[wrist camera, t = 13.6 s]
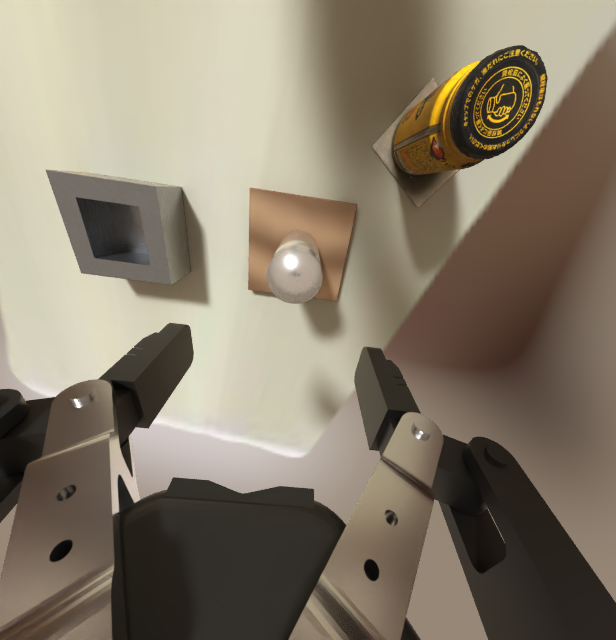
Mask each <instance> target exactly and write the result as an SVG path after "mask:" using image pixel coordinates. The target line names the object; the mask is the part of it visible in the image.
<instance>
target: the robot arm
mask: <svg viewBox="0 0 616 640" xmlns="http://www.w3.org/2000/svg"><path fill="white" fill-rule="evenodd" d="M193 354H194V353H193V345H192V337H191V330H190V327H189V325H183V324H175V323H169V324H167V325H166V326H165V327H164V328H163V329H162V330H161V331H160V332H159V333H153V334H151V335H149V336H147V337H145V338H143V339H142V340H141V341H140V342H139V343H138V344H137V345H135V346H134V348H132V349H131V350H130V351H129V352H128V353H127V355H124V356H123V357H122V358H121V359H120V360H119V361H118V362H117V363H116V364H114V365H113V366H112V367H111V368H110V369H109V370H108V371H107V372H106V373H105V374H103V375H102V376H101V377H100V378H99V379H98V380H88V381H84V382H80V383H77V384H75V385H73V386H70V387H68V388H67V389H65V390H64V391H62V392H61V393H59V394H58V395H57V396H56V397H52V398H45V399H37V400H29V401H25V399H24V398H23V396H22V395H21V393H20V392H19V391H17V390H13V389H1V390H0V522H1V521H2V520H3V519H4V518H5V517H6V515H7V514H8V513H9V512H10V511H11V510H12V509H13V507H14V506H15V505H16V504H17V507H16V512H15V516H14V521H13V525H12V529H11V534H10V538H9V542H8V547H7V551H6V556H5V560H4V564H3V569H2V573H1V577H0V640H421V639H420V638H419V636H418V635H417V633H416V632H415V630H414V629H413V627H412V625H411V624H410V622H409V621H408V620H407V618H406V615H407V610H408V607H409V602H410V598H411V594H412V590H413V586H414V582H415V578H416V574H417V570H418V565H419V561H420V557H421V553H422V549H423V545H424V541H425V537H426V533H427V529H428V525H429V520H430V516H431V512H432V508H433V504H434V499H435V500H438V501H439V503H440V506H441V509H442V512H443V515H444V517H445V520H446V523H447V526H448V529H449V531H450V534H451V537H452V540H453V543H454V545H455V548H456V551H457V554H458V556H459V559H460V562H461V565H462V567H463V570H464V573H465V576H466V579H467V582H468V584H469V587H470V590H471V592H472V596H473V598H474V601H475V604H476V607H477V609H478V612H479V615H480V618H481V621H482V623H483V626H484V629H485V632H486V635H487V637H488V640H616V603H615V601H614V600H613V598H612V597H611V595H610V594H609V593H608V591H607V590H606V589H605V587H604V585H603V584H602V582H601V581H600V580H599V578H598V577H597V576H596V574H595V573H594V571H593V570H592V569H591V567H590V565H589V564H588V563H587V561H586V560H585V558H584V557H583V555H582V554H581V552H580V551H579V550H578V548H577V547H576V545H575V544H574V542H573V541H572V540H571V538H570V537H569V535H568V534H567V533H566V531H565V530H564V528H563V527H562V525H561V524H560V522H559V521H558V520H557V518H556V517H555V515H554V514H553V513H552V511H551V509H550V508H549V507H548V505H547V504H546V502H545V501H544V499H543V498H542V497H541V495H540V494H539V492H538V491H537V489H536V488H535V487H534V485H533V484H532V482H531V481H530V480H529V478H528V477H527V475H526V474H525V472H524V471H523V470H522V468H521V467H520V465H519V464H518V462H517V461H516V460H515V458H514V457H513V456H512V455H511V454H510V453H509V452H508V451H507V450H506V449H505V448H503V447H502V446H501V445H499V444H498V443H496V442H494V441H492V440H490V439H488V438H484V437H475V438H473V439H472V440H471V441H470V442H469V443H468V444H466V443H463V442H461V441H458V440H456V439H453V438H450V437H448V436H445V435H443V434H442V432H441V430H440V429H439V427H438V426H437V425H436V424H435V423H434V422H433V421H432V420H431V419H429V418H428V417H426V416H424V415H422V414H421V413H420V411H419V409H418V407H417V405H416V403H415V401H414V399H413V397H412V394H411V392H410V390H409V388H408V387H407V384H406V382H405V380H404V379H403V376H402V374H401V372H400V370H399V368H398V367H397V366H396V365H395V364H394V363H393V362H392V361H391V360H386V359H385V356H384V354H383V352H382V350H381V349H380V348H372V347H364V348H363V349H362V352H361V355H360V359H359V362H358V365H357V368H356V371H355V387H356V392H357V396H358V400H359V405H360V409H361V414H362V418H363V423H364V427H365V432H366V436H367V440H368V445H369V449H370V450H376V451H377V450H378V451H379V452H380V455H381V459H380V461H379V463H378V465H377V467H376V468H375V470H374V472H373V474H372V476H371V478H370V480H369V482H368V484H367V486H366V488H365V490H364V492H363V494H362V496H361V498H360V500H359V502H358V504H357V506H356V508H355V510H354V512H353V514H352V516H351V518H350V520H349V522H348V523H347V525H346V524H345V523H344V522H343V521H342V520H341V519H340V518H339V517H338V516H337V515H336V514H335V513H334V512H333V511H331V510H330V509H329V508H328V507H326V506H324V505H322V504H321V503H319V502H317V501H314V489H308V488H294V487H283V486H279V487H274V488H269V489H265V490H260V491H255V492H250V493H245V494H241V493H238V492H236V491H233V490H231V489H228V488H226V487H223V486H221V485H219V484H216V483H214V482H211V481H209V480H197V479H185V478H173V479H172V481H171V483H170V485H169V487H168V489H167V490H163V491H160V492H157V493H154V494H152V495H149V496H147V497H145V498H143V499H140V495H139V491H138V487H137V482H136V474H135V465H134V457H133V449H132V441H131V436H130V434H131V433H132V431H133V430H134V428H135V427H140V428H149V427H150V425H151V424H152V422H153V421H154V419H155V418H156V416H157V415H158V413H159V412H160V410H161V409H162V407H163V406H164V404H165V403H166V401H167V400H168V398H169V397H170V395H171V394H172V392H173V391H174V389H175V388H176V386H177V385H178V383H179V382H180V381H181V379H182V378H183V376H184V375H185V373H186V372H187V370H188V369H189V367H190V366H191V363H192V361H193ZM487 508H488V509H489V511H490V513H491V515H492V517H493V519H494V521H495V523H496V525H497V527H498V529H499V531H500V533H501V535H502V537H503V539H504V541H503V539H502V537H501V535H500V533H499V531H498V529H497V527H496V525H495V523H494V521H493V519H492V517H491V515H490V513H489V511H488V509H487ZM504 542H505V543H504Z"/></svg>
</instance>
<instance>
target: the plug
mask: <svg viewBox="0 0 616 640" xmlns="http://www.w3.org/2000/svg"><path fill="white" fill-rule="evenodd" d="M266 278H267V283H268V286H269V288H270V290H271V292H272V293H273V294H274V295H275V296H276V297H277V298H279V299H280V300H282V301H284V302H287V303H292V304H298V303H303V302H306V301H308V300H310V299H312V298H313V297H314V296H315V295H316V294H317V293H318V291H319V289H320V287H321V284H322V270H321V264H320V257H319V250H318V245H317V242H316V240H315V239H314V237H313V236H312V235H310V234H309V233H307V232H305V231H301V230H296V231H292V232H290V233H288V234H287V235H285V236H284V238H283V239H282V241H281V243H280V245H279V246H278V248H277V250H276V252H275V254H274V256H273V258H272V260H271V262H270V264H269V266H268V269H267V274H266Z"/></svg>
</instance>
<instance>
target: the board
mask: <svg viewBox="0 0 616 640" xmlns="http://www.w3.org/2000/svg"><path fill="white" fill-rule="evenodd" d="M356 208H357V204H352V203H346V202H339V201H333V200H326V199H320V198H313V197H307V196H301V195H294V194H288V193H281V192H275V191H268V190H262V189H255V188H250V208H249V281H248V290H255V291H262V292H270V293H272V292H271V290H270V288H269V286H268V283H267V278H266V274H267V269H268V266H269V264H270V262H271V260H272V258H273V256H274V254H275V252H276V250H277V248H278V246H279V245H280V243H281V241H282V239H283V238H284V236H285V235H287V234H288V233H290V232H292V231H296V230H301V231H305V232H307V233H309V234H310V235H312V236H313V237H314V239H315V240H316V242H317V245H318V250H319V257H320V264H321V270H322V284H321V287H320V289H319V291H318V293H317V294H316V295H315V296H314V297H313V298H316V299H324V300H331V301H337V296H338V291H339V287H340V282H341V277H342V273H343V268H344V263H345V259H346V254H347V249H348V245H349V240H350V236H351V231H352V226H353V222H354V217H355V212H356Z"/></svg>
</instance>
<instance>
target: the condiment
mask: <svg viewBox="0 0 616 640" xmlns="http://www.w3.org/2000/svg"><path fill="white" fill-rule="evenodd" d="M546 85H547V74H546V69H545V66H544V63H543V61H542V60H541V57H540V56H539V55H538V53H537V52H535V51H532V50H530V49H528V48H526V47H525V46H522V45H519V46H512V47H508V48H505V49H501V50H498V51H496V52H495V53H493V54H492V55H489V56H487V57H486V58H484V59H483V60H482V61H477V62H474V63H472V64H470V65H467V66H465V67H464V68H462V69H461V70H460V71H458V72H456V73H454V75H453V76H452V77H451V78H449V79H448V80H447V81H445V82H444V83H443V84H442V85H441V86H439V87H438V86H437V84H436V82H435V80H434V78H432V79H431V80H430V81H429V83H428V84H427V85H426V86H425V87H424V88H423V89H422V90H421V92H420V93H419V94H418V95H417V96H416V97H415V98H414V100H413V101H412V102H411V103H410V104H409V105H408V106H407V107H406V109H405V110H404V111H403V112H402V113H401V114H400V115H399V117H398V118H397V119H396V120H395V121H394V122H393V123H392V124H391V126H390V127H389V128H388V129H387V130H386V131H385V133H384V134H383V135H382V136H381V137H380V138H379V139H378V140H377V141H376V143H375V144H374V145H373V146H372V147H373V148H374V150H375V151H376V152H377V154H378V155H379V157H380V158H381V159H382V161H383V162H384V163H385V165H386V166H387V168H388V169H389V170H390V172H391V173H392V174H393V176H394V177H395V178H396V179H397V181H398V182H399V183H400V184H401V186H402V187H403V189H404V190H405V191H406V193H407V194H408V196H409V197H410V198H411V199H412V200H413V202H414V203H415V205H416V206H417V207H418V208H419V207H420V206H421V205H422V204H423V203H424V202H425V201H426V200H427V199H428V198H429V197H430V196H431V195H432V194H433V193H434V192H436V191H437V190H438V189H439V188H440V187H441V186H442V185H443V184H444V183H445V182H446V181H447V180H448V179H449V178H450V177H451V176H453V175H454V174H455V173H456V172H457V171H458V170H459V169H465V168H469V167H471V166H474V165H476V164H478V163H480V162H481V161H483V160H484V159H490V158H493V157H494V156H498V155H499V154H501V153H504V152H505V151H507V150H508V149H510V148H511V147H513V146H514V145H515V144H516V143H517V142H518V141H519V140H521V139H522V138H523V137H524V136H525V134H526V133H527V132H528V131H529V129H530V128H531V127H532V126H533V124H534V123H535V121H536V119H537V117H538V115H539V113H540V110H541V108H542V106H543V103H544V99H545V94H546ZM411 177H412V178H411Z"/></svg>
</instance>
